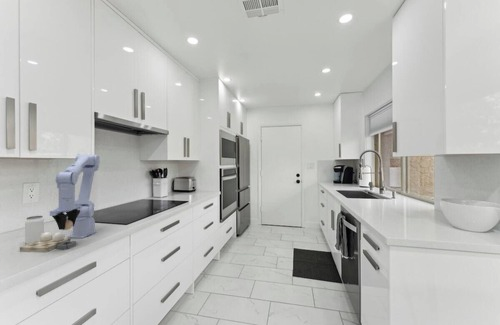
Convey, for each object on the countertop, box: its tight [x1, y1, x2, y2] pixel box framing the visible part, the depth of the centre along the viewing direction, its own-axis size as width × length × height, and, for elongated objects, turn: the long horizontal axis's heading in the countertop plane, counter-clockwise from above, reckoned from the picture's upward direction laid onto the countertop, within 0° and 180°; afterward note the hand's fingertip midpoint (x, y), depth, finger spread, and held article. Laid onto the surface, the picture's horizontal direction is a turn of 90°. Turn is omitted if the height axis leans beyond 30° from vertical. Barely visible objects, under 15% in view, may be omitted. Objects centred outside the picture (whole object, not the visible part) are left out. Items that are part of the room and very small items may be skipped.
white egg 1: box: [40, 231, 54, 241], centre depth 103 cm, size 4×4×4 cm
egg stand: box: [56, 240, 77, 250], centre depth 99 cm, size 5×5×2 cm
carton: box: [19, 237, 72, 253], centre depth 100 cm, size 12×12×2 cm
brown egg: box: [63, 219, 73, 231], centre depth 99 cm, size 4×4×4 cm
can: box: [24, 215, 45, 245], centre depth 105 cm, size 6×6×12 cm
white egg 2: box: [52, 231, 66, 242], centre depth 102 cm, size 4×4×4 cm
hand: (66, 227), depth 99 cm, fingers closed on brown egg, 4 cm apart
